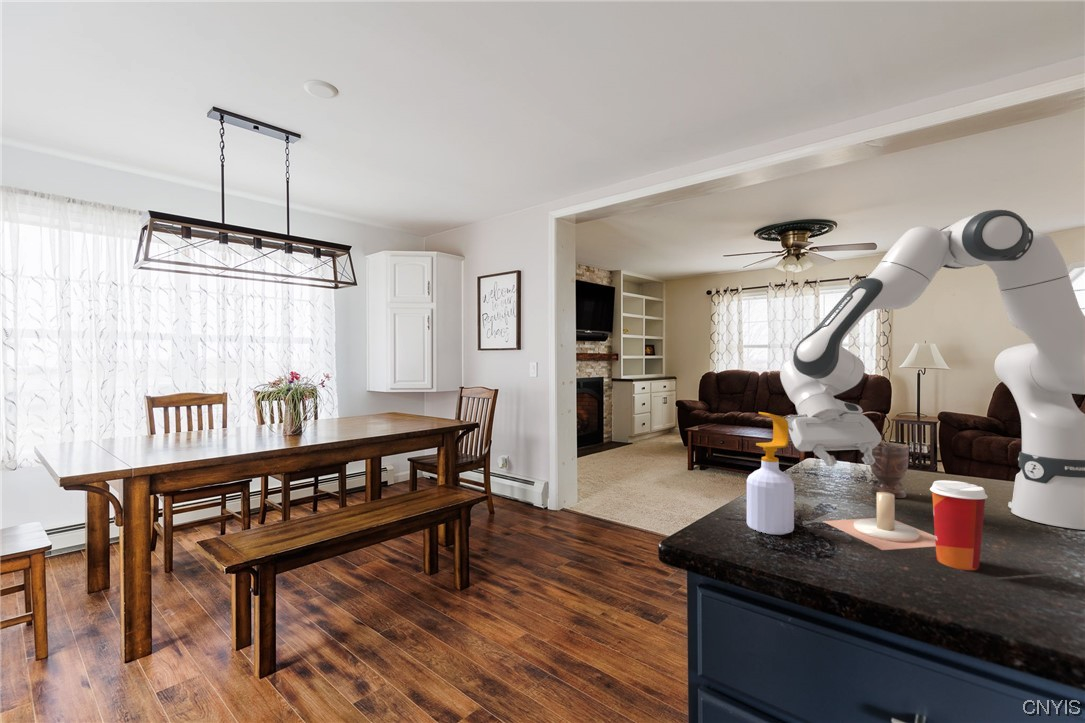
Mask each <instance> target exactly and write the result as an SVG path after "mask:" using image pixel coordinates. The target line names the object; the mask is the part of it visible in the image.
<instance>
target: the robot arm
mask: <svg viewBox="0 0 1085 723" xmlns="http://www.w3.org/2000/svg"><path fill="white" fill-rule="evenodd" d="M983 265H985V266H986V265H987V267H989V268H990V269H991V270H992V272H993V273H994V275H995V277H996V279H997V280H996V281H997V285H998V288H999V289H998V290H999V292H1000V296H1001V300H1002V303H1003V306H1004V310H1005V313H1006V317H1007V320H1008V322H1009V323H1010V324H1011V325H1012V326H1013V327H1014V328H1016V329H1018V330H1020V331H1021V332H1022V333H1024V334H1025V336H1027V338H1029V339H1030V340H1031V341H1032V342H1030V343H1029V342H1028V343H1023V344H1018V345H1014V346H1010V347H1008V348H1005V349H1004V350H1002V351H1001V352H1000V353H999V354H998V355H997V356H996V358H995V361H994V366H993V368H994V373H995V375H996V376H997V378H998V380H1000V381H1001V382H1002V383H1003V384H1004V385H1005V386H1006V387H1007V389H1009V391H1010V392H1011V394H1012V395H1011V396H1013V398H1014V401H1015V403H1016V406H1017V409H1018V412H1019V417H1020V423H1021V424H1020V426H1021V451H1019V452H1018V458H1017V460H1018V467H1019V468H1020V471H1019V472H1018V473H1016V475H1015V479H1014V486H1013V495H1012V500H1011V501H1008V503H1007V504H1008V505H1007V507H1009V508H1010V509H1011V510H1010V512H1011V513H1012V514H1014V515H1015V516H1018V517H1020V518H1022V519H1025V520H1028V521H1032V522H1036V523H1040V524H1045V525H1048V526H1054V527H1059V528H1065V529H1066V528H1067V529H1074V530H1083V531H1085V413H1084V412H1083V411H1082V410H1080V408H1079V407H1078V406H1077V404H1076V402H1075V400H1074V398H1073V395H1072V394H1074V395H1075V394H1076V395H1085V314H1084V313H1083V311H1082V309H1081V307H1080V305H1079V302H1078V298H1077V296H1076V293H1075V291H1074V290H1075V289H1074V287H1073V283H1072V281H1071V277H1070V275H1069V270H1068V267H1067V265H1066V262H1065V260H1064V258H1063V255H1062V253H1061V251H1060V249H1059V248H1058V245H1057V244H1056V243H1055V241H1054V239H1053V238H1052V237H1051V236H1050V235H1049V234H1047V233H1044V232H1039V231H1038V232H1037V231H1033V230H1032V229H1031V228H1030V227H1029V226H1028V224H1027V223H1026V221H1025V219H1023V218H1022V217H1021V216H1020V215H1019V214H1017V213H1015V212H1013V211H1012V210H1007V209H992V210H986V211H983V212H980V213H977V214H973V215H969V216H966V217H963V218H962V219H960V220H958V221H957V222H955V223H952V224H949V225H947V226H945V227H943V228H940V230H939V229H938V228H936V227H935V228H934V227H932V226H922V225H921V226H915V227H912V228H909V229H908V230H907V231H905V233H903V235H902V236H900V237H899V238H898V240H896V241H895V242H894V244H893V245H892V246H891V247H890V249H888V251H887V252H886V253H885V254H884V256H883V257H882V259H881V260H880V261H879V263H878V265H876V267H875V268H874V269H873V270H872V272H871V273H870V274H869V275H868V276H867V277H866V278H863V279H861V280H859V281H857V283H855V284H854V285H852V287H851V288H849V290H848V291H847V292H846V293H844V295H843V296H842V297H841V299H840V300H839V301H838V302H837V303H836V304H835V306H833V308H832V309H831V310H830V311H829V313H828V314H827V315H826V316H825V318H823V320H822V321H821V322H820V323H819V324H818V326H817V327H815V328H814V329H813V330H812V331H811V332H810V333H808V334H807V335H806V336H805V337H804V338H802V339H801V340H800V341H799V342H798V343H797V345H796V347H795V349H794V352H793V354H792V358H790V359H789V360H788V361H786V362H785V363H784V364H783V365H782V367H781V369H780V371H779V378H780V382H781V385H782V387H783V389H784V391H785V394H786V395H787V396H788V398H789V400H790V401H791V402H792V403H793V404H794V405H795V410H796V413H797V414H795V415H794V414H789V415H787V416H786V417H784V418H785V419H786V420H787V421H788V434H789V437H790V439H791V441H792V444H793V445H794V447H795V449H797V450H798V451H799V452H813V453H814V455H815V456H816V457H818V458H819V459H821V460H822V461H823V462H824V463H825V465H826V467H834V466H835V465H836V464H837V463H838V462H837V459H836V458H835V456H834V455H830V454H829V453H828V452H827V451H848V450H849V451H851V450H854V451H855V450H859V451H860V453H863V457H861V460H862V462H863V463H864V465H866V466H867V465H869V466H870V465H872V464H873V463H874V462H875V459H874V457H873V456H872V449H874V448H875V447H876V446H877V445H878V444H879V443H880V442H881V440H882V436H881V434H880V432H879V431H878V429H877V428H876V426H874V425H875V424H874V422H873V421H872V420H871V419H870V418H868V417H867V416H865V415H864V414H863V412H864V410H863V409H862V407H861V406H860V405H858V404H855V403H850V402H846V401H843V400H840V399H838V398H835V396H838V395H840V394H842V393H845V392H848V391H849V390H851V389H853V388H855V387H856V386H858V385H859V384H860V383H861V381H862V379H863V378H864V376H865V375H864V374H865V371H866V370H865V365H864V362H863V361H862V360H861V358H860V357H858V356H857V355H855V354H854V353H853V352H851V351H850V350H849V349H848V350H847V349H846V348H845V347H843V343H844V340H845V338H846V337H847V336H848V335H850V333H851V332H852V331H853V329H854V328H855V327H856V326H857V324H859V323H860V321H861V320H862V319H863V318H864V317H865V316H866V315H867V314H868V313H870V312H872V311H874V310H880V309H881V310H888V311H889V310H900V309H903V308H907V307H910V306H912V305H913V304H914V303H915V302H916V301H917V300H918V299H919V298H921V296H922V295H923V293H924V292H925V291H926V290H927V288H928V287H929V286H930V284H931V282H932V281H933V279H934V278H935V276H936V274H938V272H939V271H940V270H941V269H942V268H946V269H954V270H957V269H959V270H960V269H964V268H972V267H978V266H983ZM870 420H871V421H872V422H873V423H872V422H871V421H870ZM873 424H874V425H873Z"/></svg>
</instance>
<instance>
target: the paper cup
mask: <svg viewBox="0 0 1085 723" xmlns="http://www.w3.org/2000/svg"><path fill="white" fill-rule="evenodd" d="M929 491H930V492H931V493H932V494H931V495H932V513H933V525H934V528H933V529H934V536H935V544H936V547H935V554H936V556H935V557H936V561H937V562H939V563H940V564H942V565H944V566H947V567H950V568H954V569H959V570H963V571H976V570H979V569H980V561H981V551H982V540H983V530H984V529H983V528H984V516H985V515H984V514H985V502H986V499H988V495H987V494H986V492H985V489H984V487H982V486H979V485H976V484H974V483H973V484H972V483H971V484H970V483H969V482H963V481H958V480H946V479H945V480H942V479H941V480H935V481H933V482H932V486H931V487H930V488H929Z"/></svg>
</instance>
